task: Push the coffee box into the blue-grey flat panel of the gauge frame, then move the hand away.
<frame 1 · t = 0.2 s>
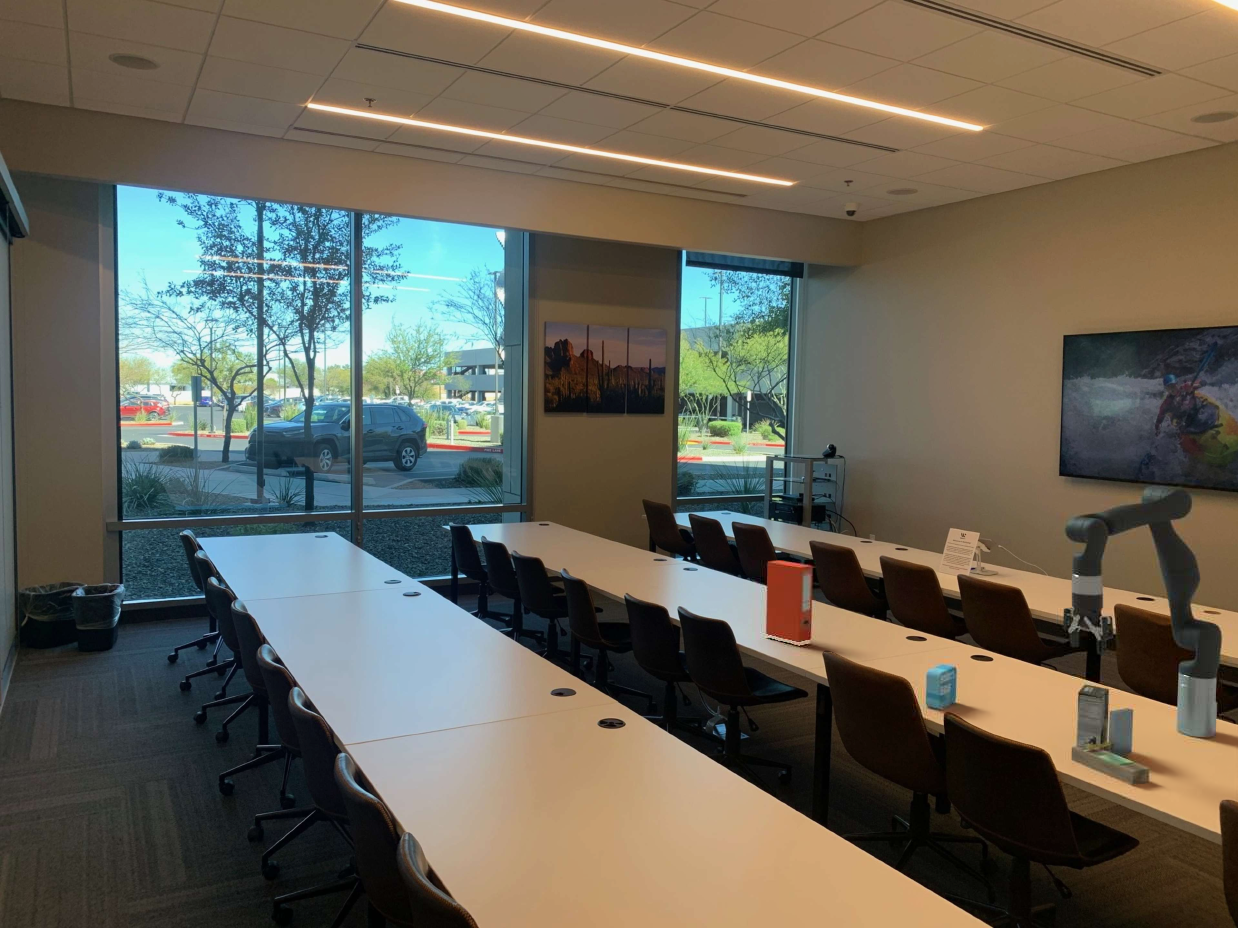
hand: (1087, 649, 242), 29 cm above the table, tool pointing down, fingers open, 8 cm apart
gauge frame: (1134, 763, 237), on the table
data package: (940, 705, 285), on the table
file binder: (788, 641, 365), on the table
blue-grey flat panel: (1109, 734, 239), point 7 cm above the table, slide at 0.0 cm
coffee box: (1091, 747, 249), on the table
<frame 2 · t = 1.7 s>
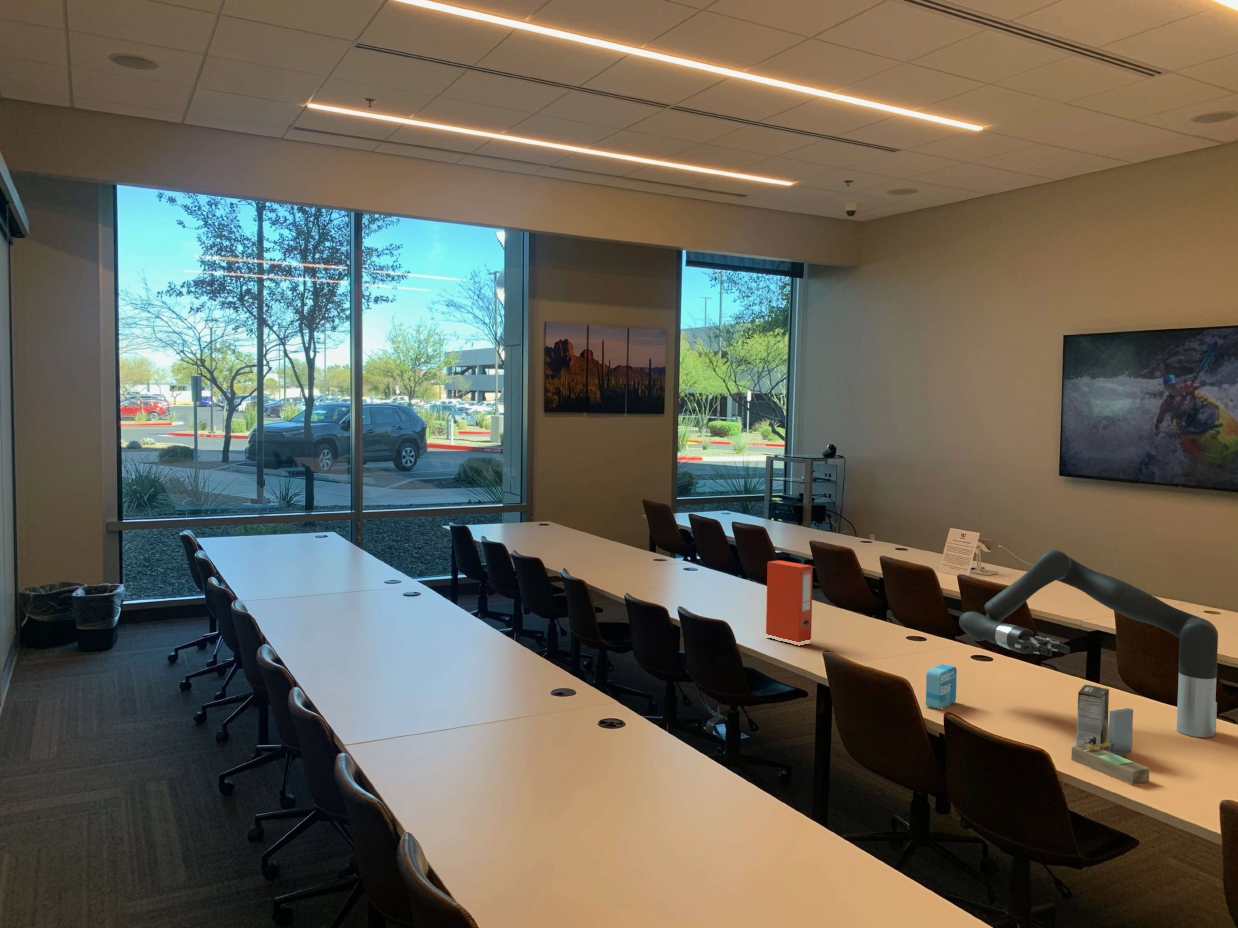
hand: (1060, 651, 259), 24 cm above the table, tool horizontal, fingers open, 6 cm apart
nothing on the table moved.
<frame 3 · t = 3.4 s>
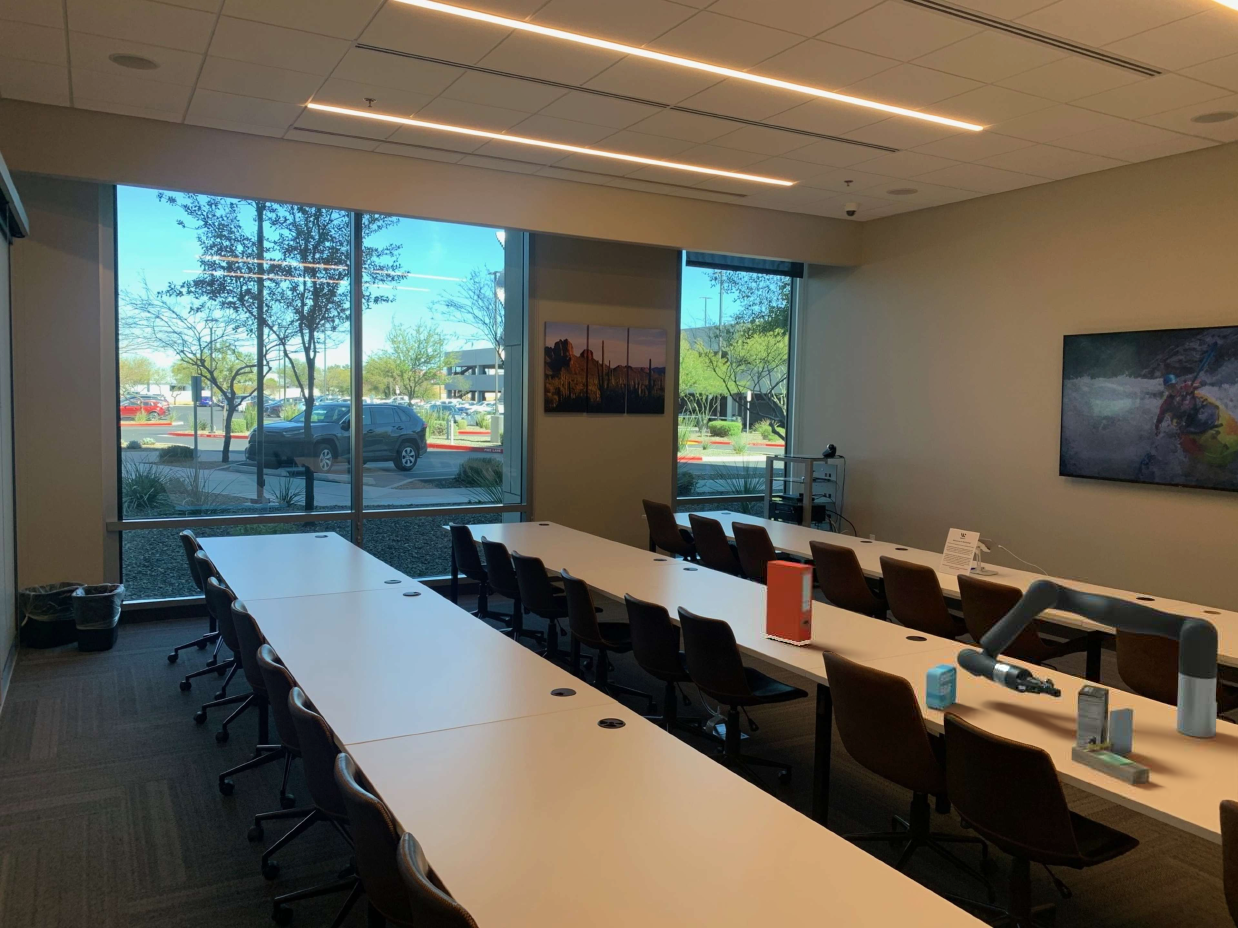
hand: (1059, 693, 259), 12 cm above the table, tool horizontal, fingers closed
nothing on the table moved.
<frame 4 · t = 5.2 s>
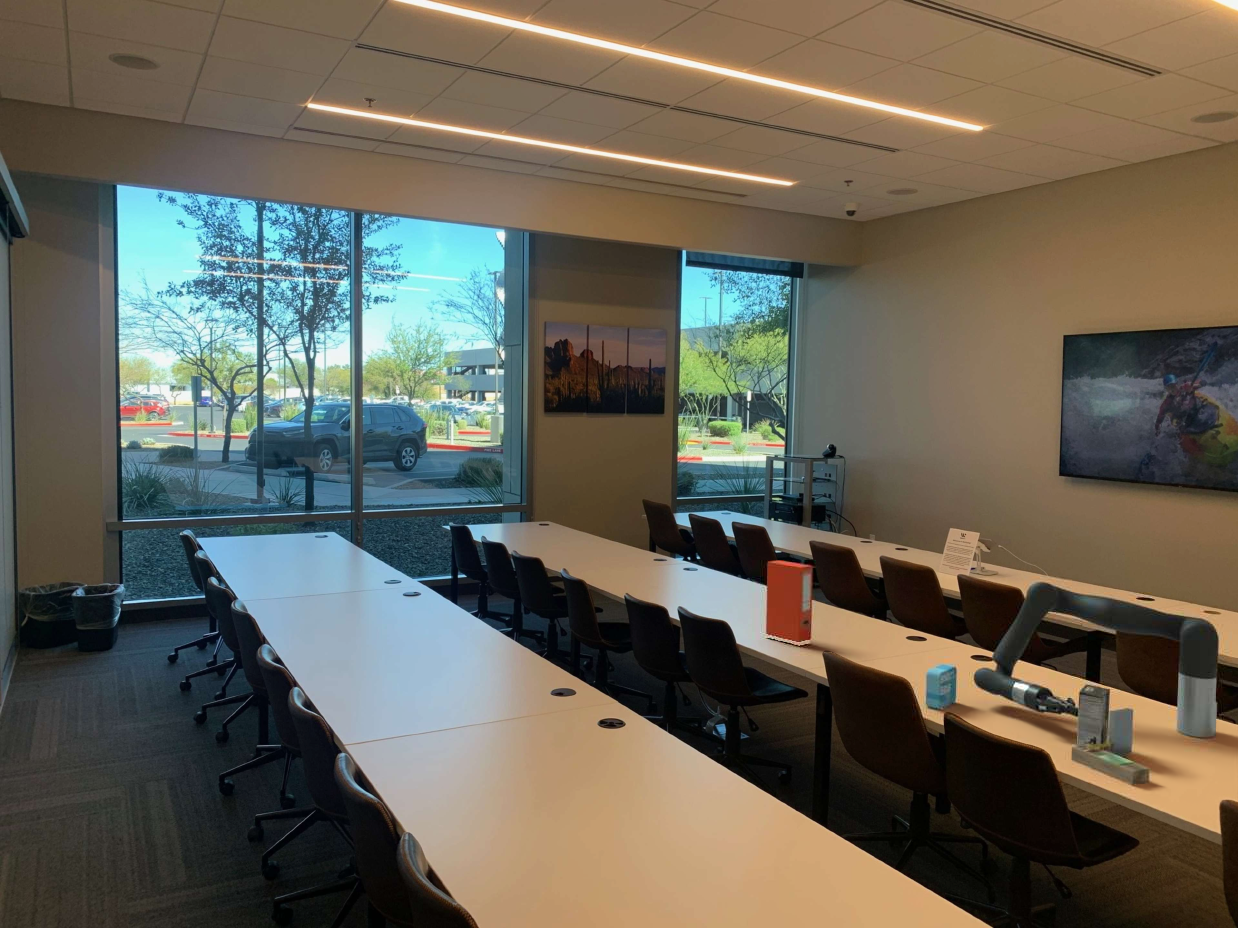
hand: (1081, 713, 252), 8 cm above the table, tool horizontal, fingers closed
coffee box: (1091, 746, 249), on the table, touching gripper
everything else where it was.
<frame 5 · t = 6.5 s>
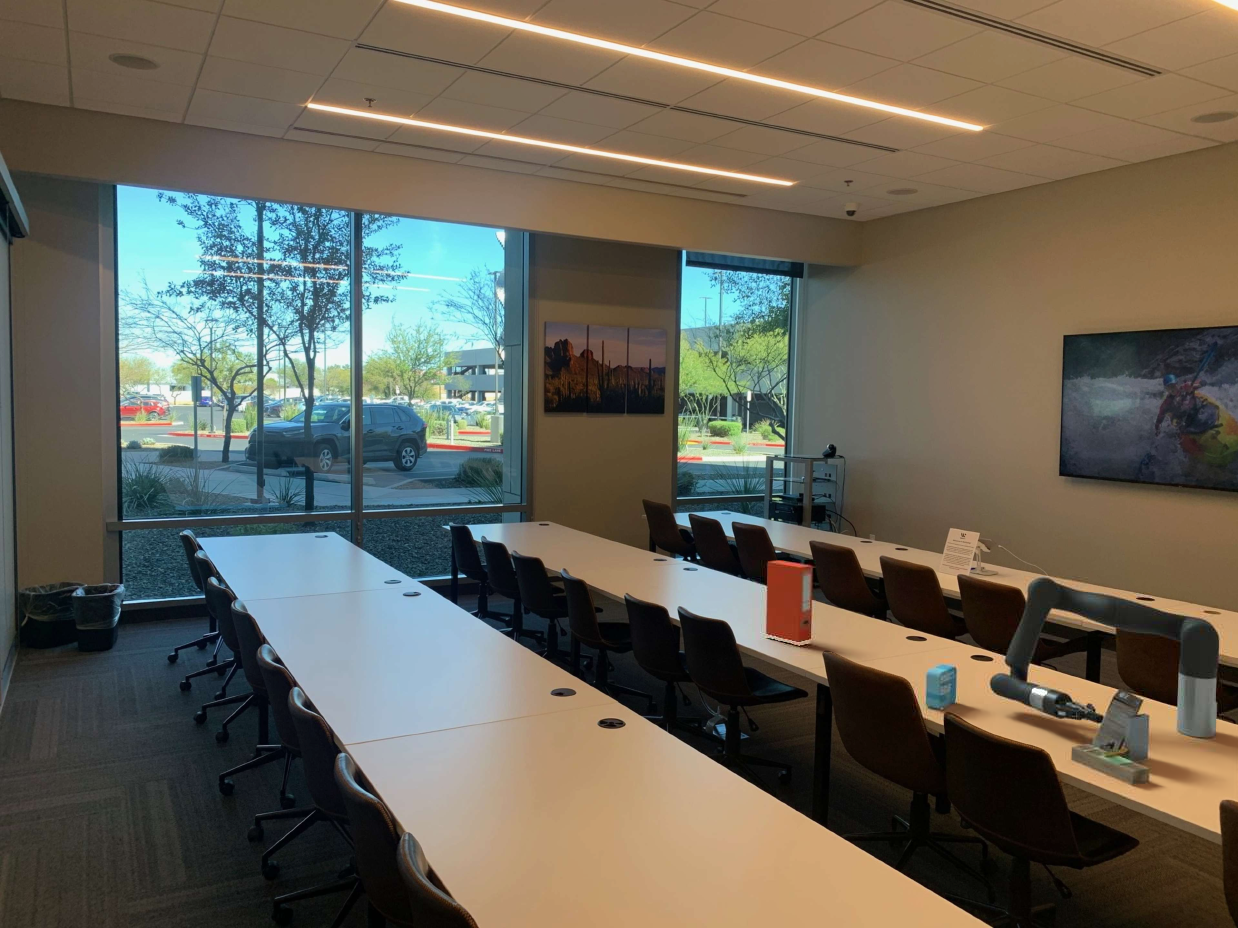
hand: (1101, 719, 246), 9 cm above the table, tool horizontal, fingers closed
blue-grey flat panel: (1125, 740, 235), point 7 cm above the table, slide at 4.7 cm, touching coffee box
coffee box: (1105, 748, 245), point 1 cm above the table, touching blue-grey flat panel, gripper
everything else where it was.
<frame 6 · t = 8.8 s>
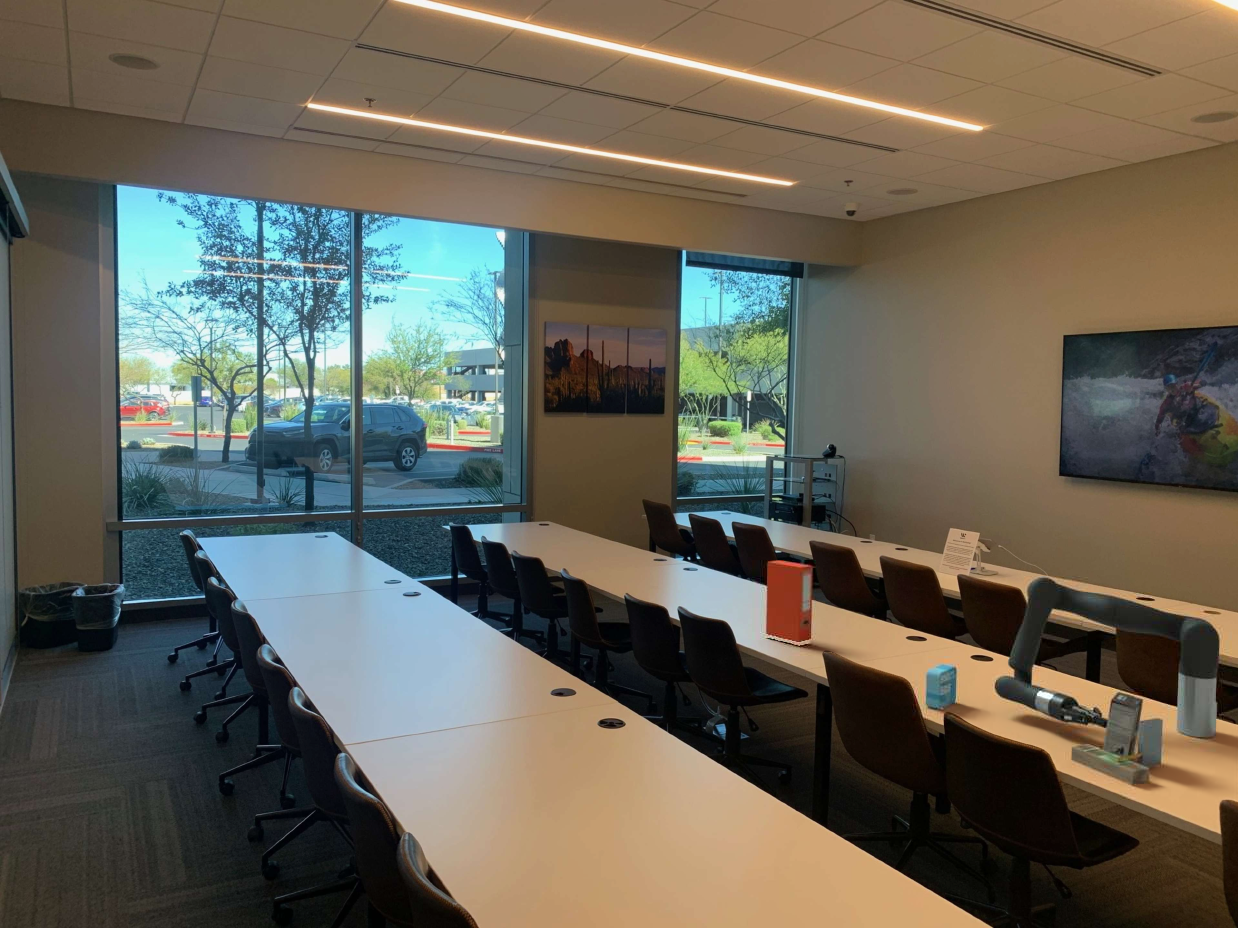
hand: (1108, 724, 244), 8 cm above the table, tool horizontal, fingers closed
blue-grey flat panel: (1138, 745, 231), point 7 cm above the table, slide at 8.5 cm
coffee box: (1117, 756, 242), on the table, touching gripper
everything else where it was.
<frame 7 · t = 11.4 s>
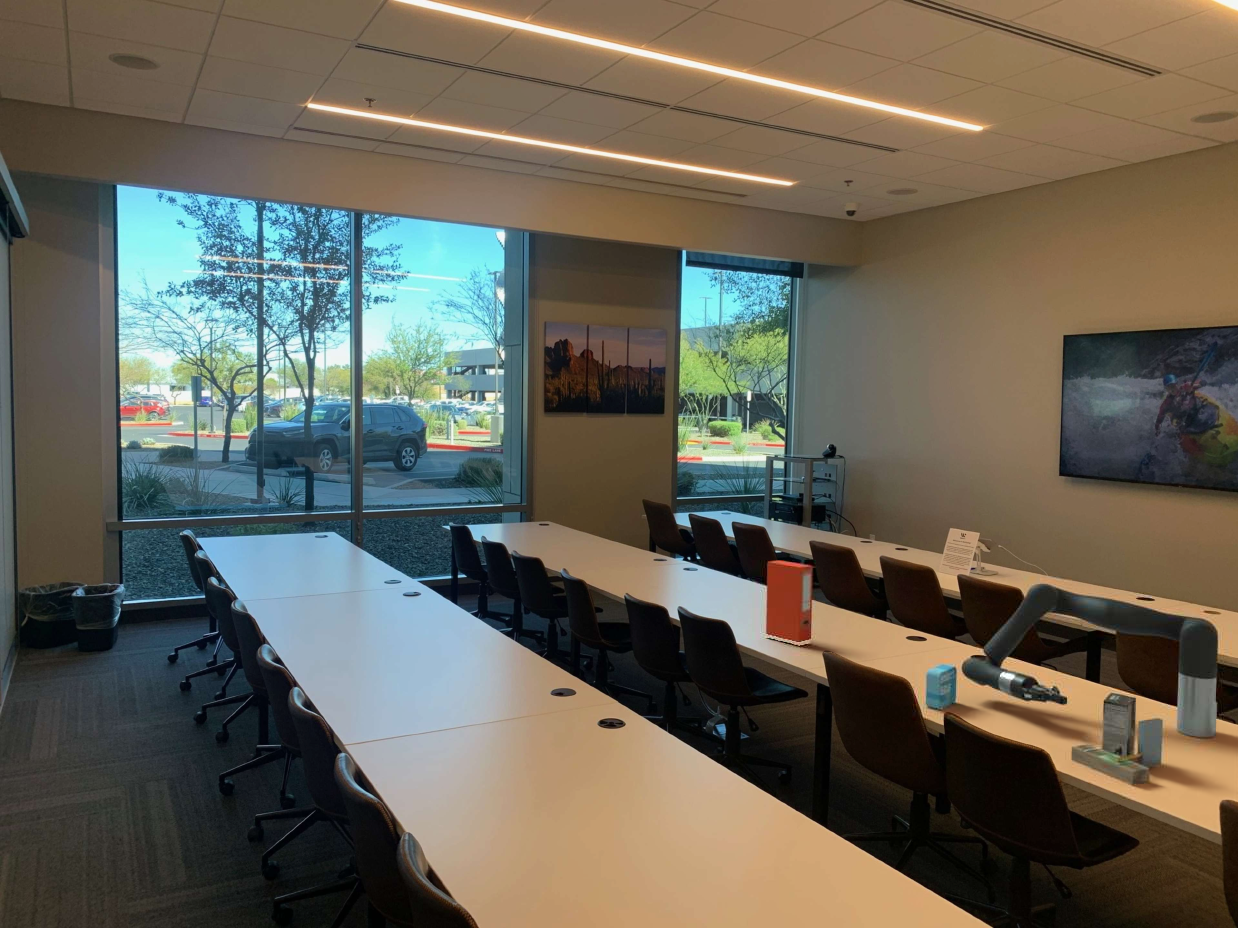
hand: (1065, 701, 258), 10 cm above the table, tool horizontal, fingers closed
coffee box: (1117, 757, 242), on the table
everything else where it was.
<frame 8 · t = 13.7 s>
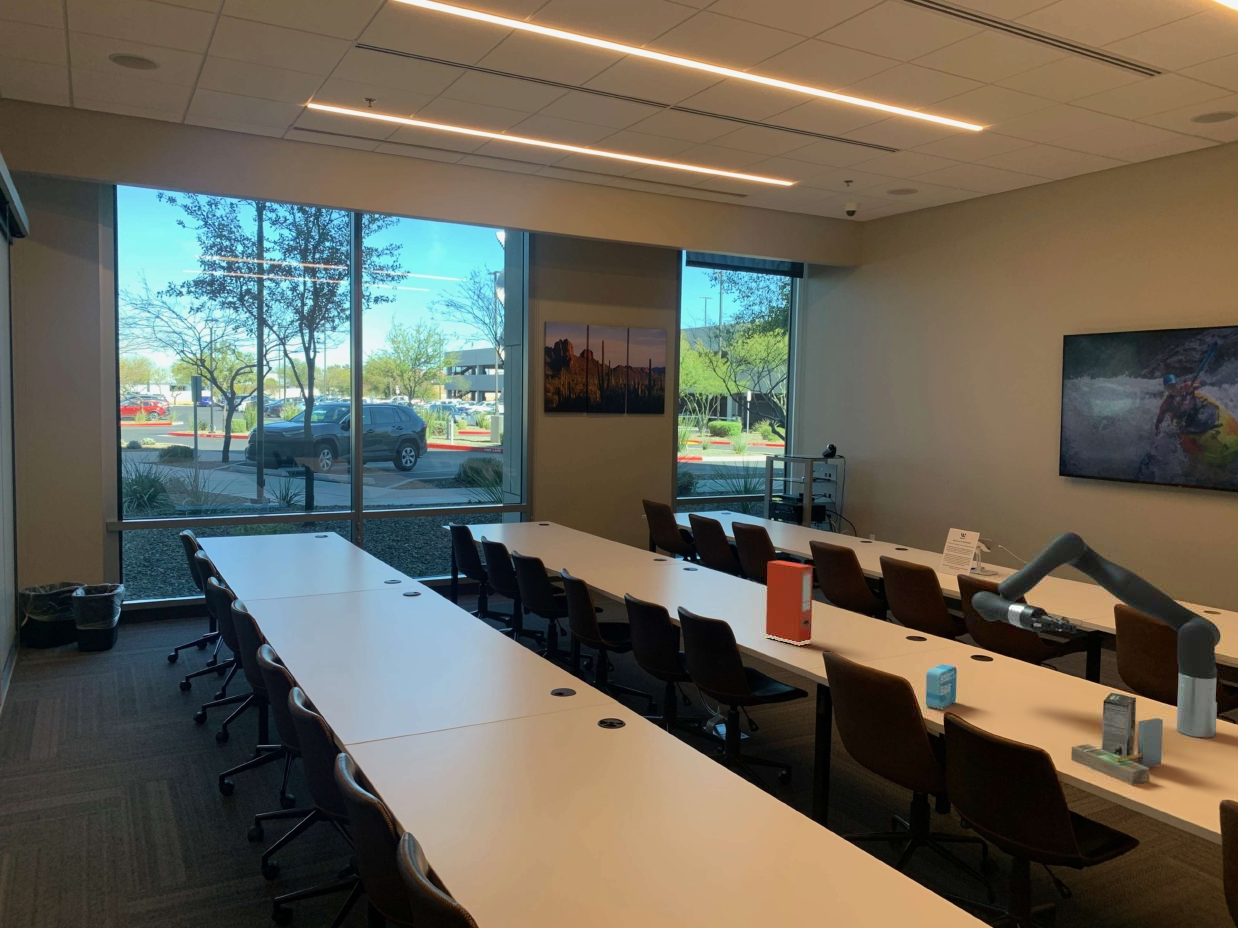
hand: (1074, 629, 261), 30 cm above the table, tool horizontal, fingers closed
nothing on the table moved.
at the end: blue-grey flat panel slide at 8.5 cm; coffee box tilted 0°; coffee box moved 8.1 cm from its start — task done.
